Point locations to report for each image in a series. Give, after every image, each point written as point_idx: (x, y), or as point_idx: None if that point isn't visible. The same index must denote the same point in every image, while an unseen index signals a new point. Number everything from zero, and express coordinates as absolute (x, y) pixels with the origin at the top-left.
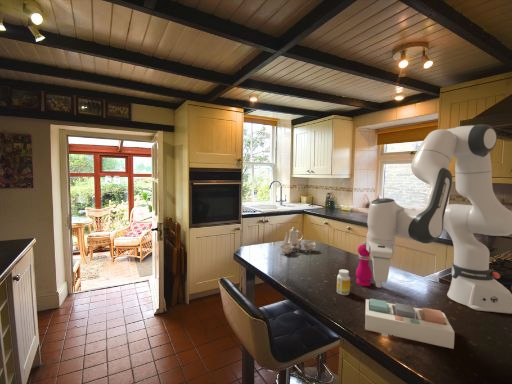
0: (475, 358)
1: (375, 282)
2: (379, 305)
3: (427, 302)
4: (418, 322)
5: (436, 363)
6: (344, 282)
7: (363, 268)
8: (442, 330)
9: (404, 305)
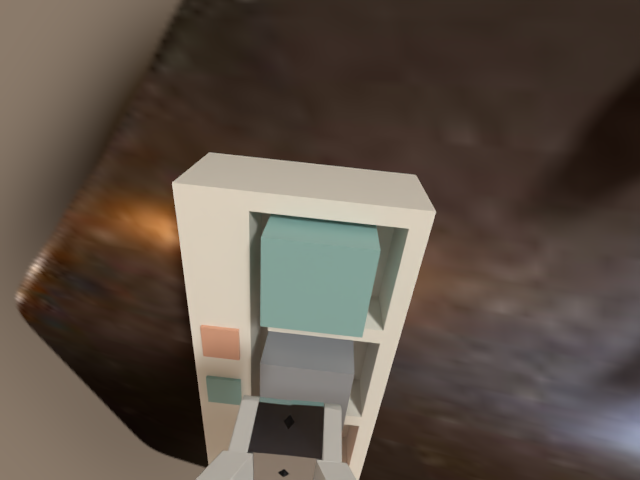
0: None
1: (338, 411)
2: (278, 291)
3: (560, 438)
4: (219, 400)
5: (116, 350)
6: None
7: None
8: (206, 443)
9: (332, 403)
